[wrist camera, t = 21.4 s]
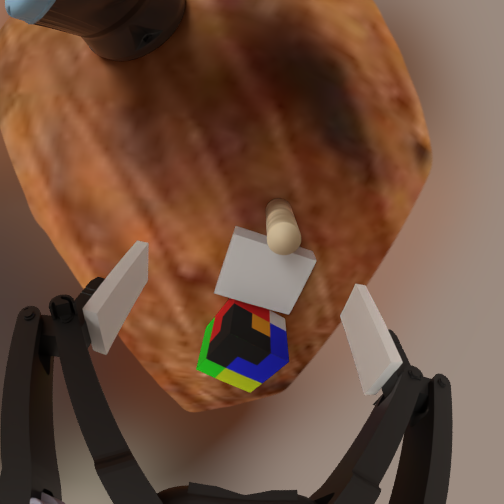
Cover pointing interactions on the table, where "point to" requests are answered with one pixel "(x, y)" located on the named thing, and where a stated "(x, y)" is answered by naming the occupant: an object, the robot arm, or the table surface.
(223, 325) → the puzzle toy
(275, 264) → the slab
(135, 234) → the table surface
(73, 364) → the robot arm
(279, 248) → the dowel
